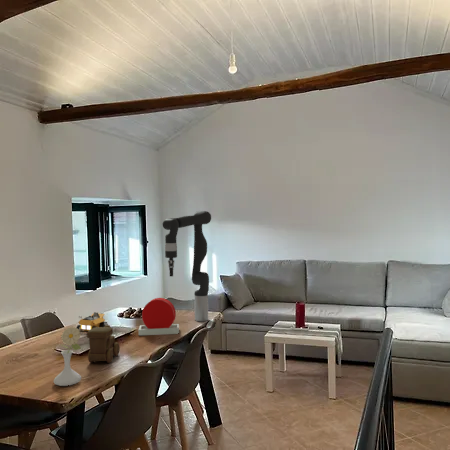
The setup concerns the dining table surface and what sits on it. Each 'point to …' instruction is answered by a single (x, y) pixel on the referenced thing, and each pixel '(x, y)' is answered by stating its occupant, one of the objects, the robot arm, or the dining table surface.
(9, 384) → the dining table surface
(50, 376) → the dining table surface
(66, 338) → the flower in vase
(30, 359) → the dining table surface
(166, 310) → the toy clock
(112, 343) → the wooden toy train
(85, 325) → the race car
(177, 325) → the tray
